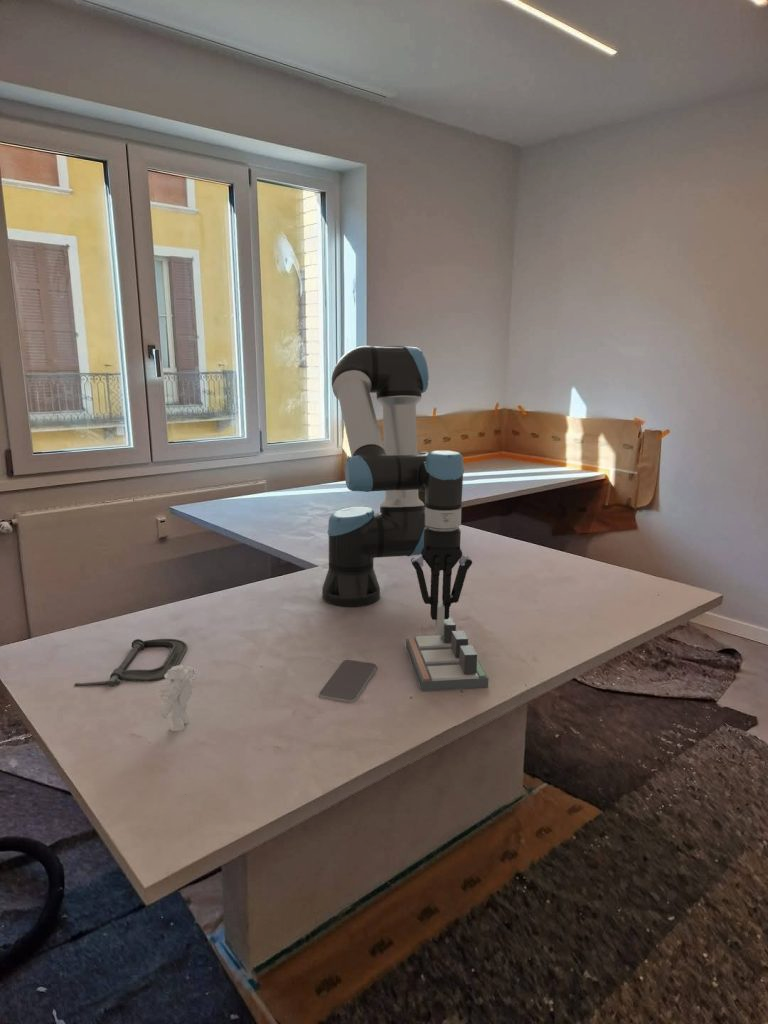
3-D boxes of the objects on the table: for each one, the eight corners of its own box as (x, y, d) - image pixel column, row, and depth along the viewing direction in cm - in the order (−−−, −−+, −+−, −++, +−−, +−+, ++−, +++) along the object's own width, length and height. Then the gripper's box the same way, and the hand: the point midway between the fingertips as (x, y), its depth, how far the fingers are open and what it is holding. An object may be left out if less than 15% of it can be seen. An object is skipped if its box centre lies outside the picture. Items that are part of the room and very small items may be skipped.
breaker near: (464, 674, 125) (464, 655, 124) (459, 664, 129) (459, 645, 128) (476, 673, 126) (477, 654, 125) (471, 663, 129) (471, 645, 128)
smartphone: (316, 695, 122) (344, 658, 136) (316, 699, 122) (344, 662, 136) (354, 701, 120) (378, 663, 134) (354, 705, 120) (378, 667, 134)
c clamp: (162, 692, 124) (161, 679, 124) (74, 689, 125) (72, 676, 125) (197, 645, 144) (196, 634, 143) (120, 643, 145) (119, 631, 144)
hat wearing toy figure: (178, 740, 108) (173, 674, 105) (156, 737, 109) (150, 672, 106) (203, 712, 117) (199, 650, 114) (183, 709, 117) (178, 648, 114)
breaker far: (444, 642, 139) (444, 625, 138) (440, 634, 142) (440, 617, 142) (455, 642, 139) (455, 624, 138) (450, 634, 143) (451, 617, 142)
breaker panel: (421, 691, 124) (422, 679, 124) (405, 647, 143) (406, 636, 142) (488, 687, 126) (488, 675, 125) (463, 644, 144) (464, 633, 144)
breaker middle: (455, 657, 132) (456, 639, 131) (451, 648, 136) (451, 631, 135) (467, 656, 132) (468, 638, 131) (462, 648, 136) (463, 630, 135)
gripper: (414, 532, 130) (412, 641, 136) (478, 530, 132) (473, 639, 137) (408, 522, 137) (406, 626, 143) (468, 521, 139) (464, 624, 144)
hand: (439, 632), depth 140 cm, fingers closed
